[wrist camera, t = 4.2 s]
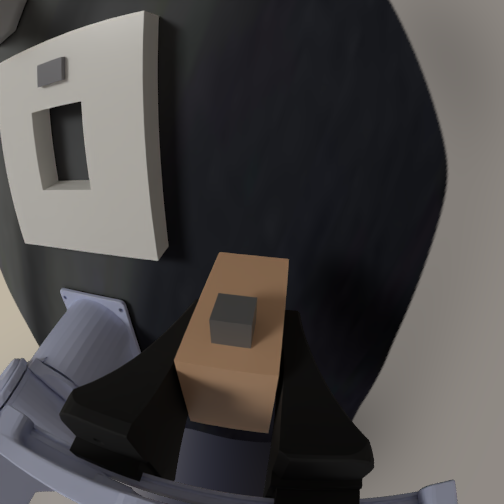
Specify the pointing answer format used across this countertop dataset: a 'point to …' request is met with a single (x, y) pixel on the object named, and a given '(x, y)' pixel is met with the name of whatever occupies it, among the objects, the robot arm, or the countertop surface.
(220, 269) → the plug
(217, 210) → the countertop surface
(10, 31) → the flask
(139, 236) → the socket
